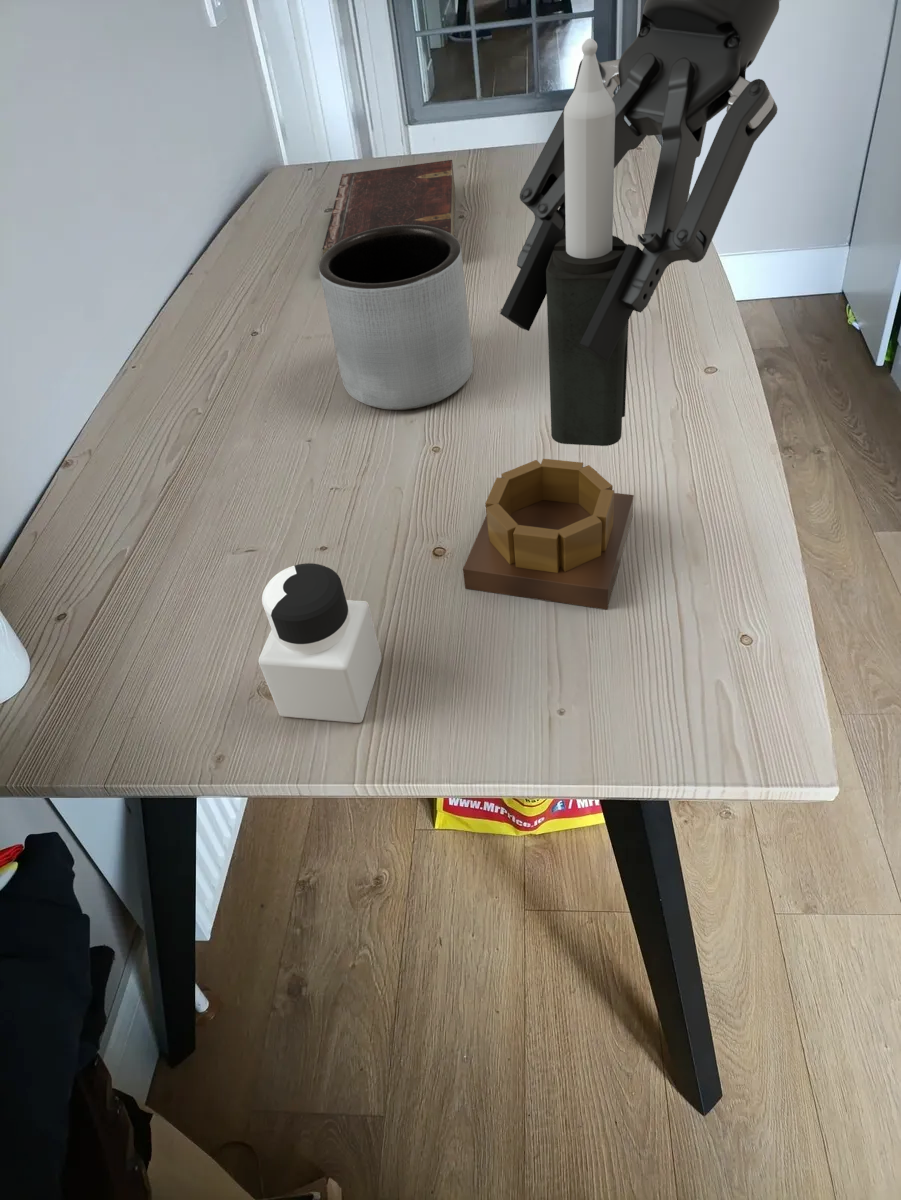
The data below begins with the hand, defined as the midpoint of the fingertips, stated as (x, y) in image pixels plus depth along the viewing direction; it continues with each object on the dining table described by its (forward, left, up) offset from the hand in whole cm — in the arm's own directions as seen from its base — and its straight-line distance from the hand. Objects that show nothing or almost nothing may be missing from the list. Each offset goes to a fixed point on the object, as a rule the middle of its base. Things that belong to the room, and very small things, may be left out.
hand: (553, 336), depth 57 cm
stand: (+3, -8, -27) cm, 28 cm away
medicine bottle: (+17, +12, -27) cm, 34 cm away
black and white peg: (-2, -3, -9) cm, 10 cm away
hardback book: (+44, -76, -27) cm, 92 cm away
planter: (+27, -35, -27) cm, 52 cm away
